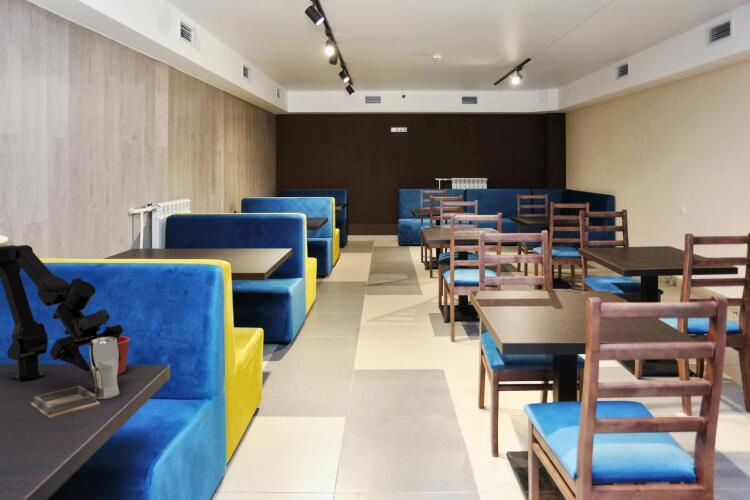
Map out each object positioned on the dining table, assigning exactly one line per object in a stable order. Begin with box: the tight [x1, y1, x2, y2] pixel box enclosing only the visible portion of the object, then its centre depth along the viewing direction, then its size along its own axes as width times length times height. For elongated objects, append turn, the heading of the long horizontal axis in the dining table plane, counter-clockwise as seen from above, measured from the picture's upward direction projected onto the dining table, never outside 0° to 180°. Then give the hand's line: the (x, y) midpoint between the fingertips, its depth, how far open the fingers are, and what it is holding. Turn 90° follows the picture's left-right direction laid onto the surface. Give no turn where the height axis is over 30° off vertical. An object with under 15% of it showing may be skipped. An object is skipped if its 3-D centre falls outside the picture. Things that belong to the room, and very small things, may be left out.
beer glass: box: [88, 337, 120, 400], centre depth 158 cm, size 7×7×15 cm
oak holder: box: [30, 385, 102, 420], centre depth 152 cm, size 14×12×2 cm
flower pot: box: [88, 335, 130, 375], centre depth 177 cm, size 11×11×10 cm
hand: (104, 365), depth 158 cm, fingers open, 9 cm apart
